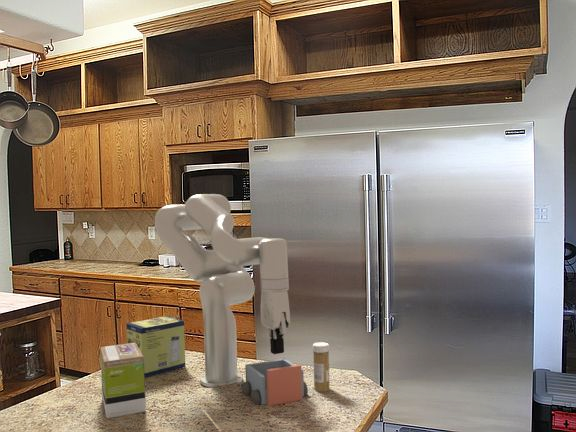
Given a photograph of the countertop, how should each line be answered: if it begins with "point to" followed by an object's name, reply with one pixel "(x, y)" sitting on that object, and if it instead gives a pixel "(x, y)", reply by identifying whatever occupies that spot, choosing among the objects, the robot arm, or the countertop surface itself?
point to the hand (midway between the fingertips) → (277, 352)
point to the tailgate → (284, 385)
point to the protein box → (159, 343)
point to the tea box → (122, 380)
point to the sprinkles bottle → (321, 366)
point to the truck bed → (263, 380)
